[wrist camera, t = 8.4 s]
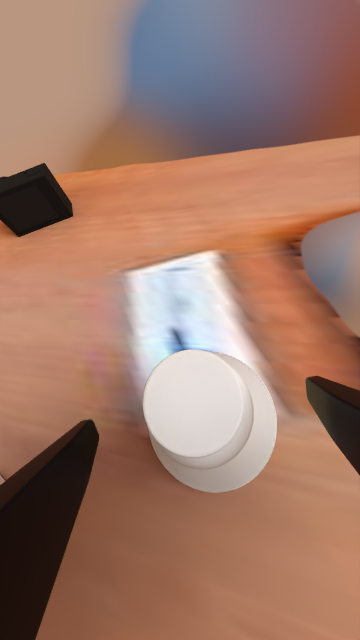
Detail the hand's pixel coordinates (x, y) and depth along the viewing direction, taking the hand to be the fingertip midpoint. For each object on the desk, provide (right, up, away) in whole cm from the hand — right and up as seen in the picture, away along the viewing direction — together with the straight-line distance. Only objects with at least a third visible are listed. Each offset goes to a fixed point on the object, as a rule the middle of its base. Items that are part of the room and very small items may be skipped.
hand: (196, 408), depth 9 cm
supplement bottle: (+2, -4, +8) cm, 9 cm away
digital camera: (-25, +22, +30) cm, 45 cm away
